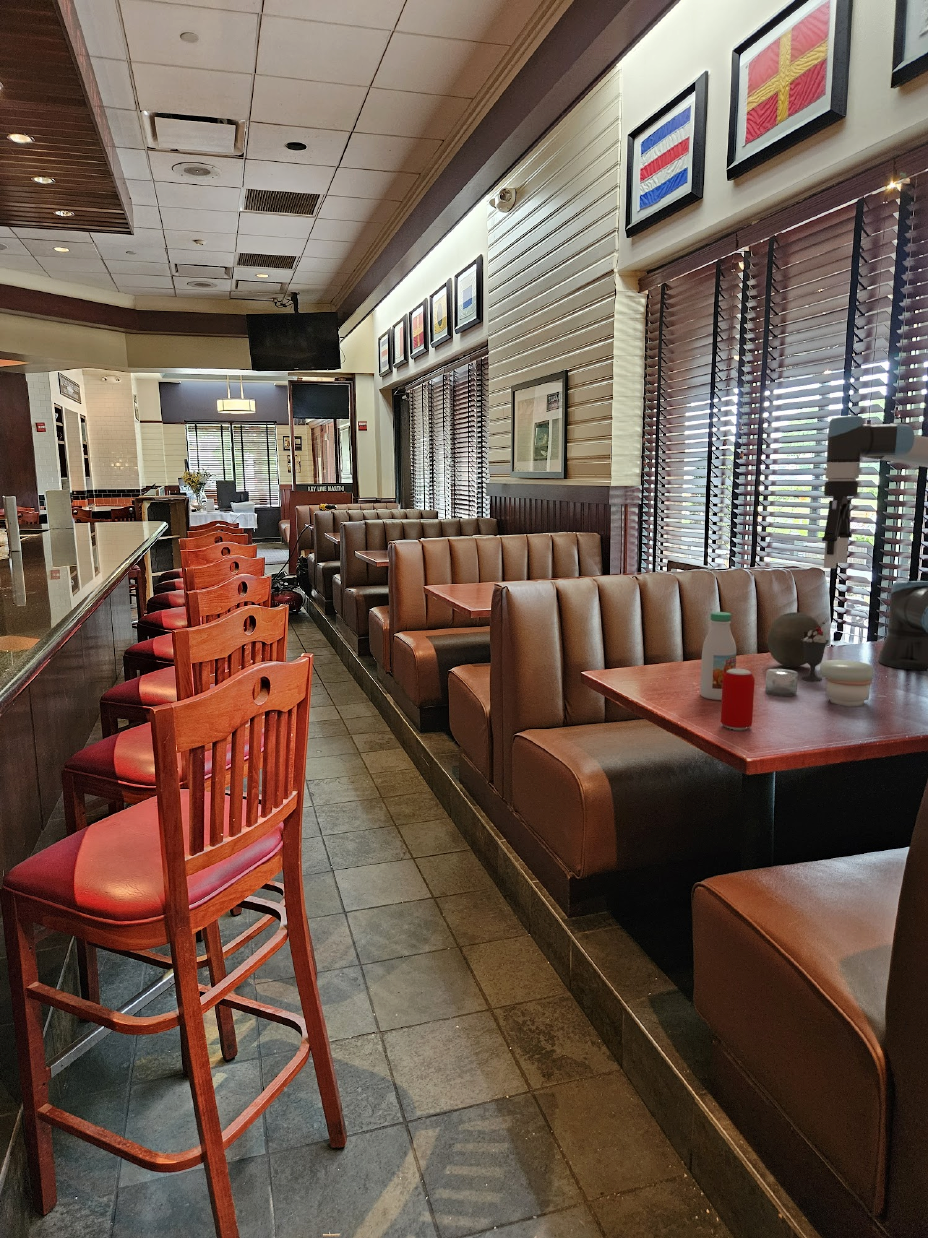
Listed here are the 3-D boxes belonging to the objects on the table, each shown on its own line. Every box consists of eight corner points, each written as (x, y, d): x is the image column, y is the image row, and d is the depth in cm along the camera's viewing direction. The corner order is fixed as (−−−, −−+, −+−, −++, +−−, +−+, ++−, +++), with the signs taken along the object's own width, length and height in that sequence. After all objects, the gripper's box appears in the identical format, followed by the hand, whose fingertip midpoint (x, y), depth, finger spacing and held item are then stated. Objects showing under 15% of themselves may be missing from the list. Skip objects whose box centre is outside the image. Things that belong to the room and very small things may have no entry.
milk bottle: (698, 699, 187) (702, 614, 184) (701, 691, 195) (705, 609, 191) (733, 702, 185) (737, 616, 181) (735, 694, 192) (739, 611, 188)
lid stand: (784, 687, 197) (785, 668, 196) (802, 695, 190) (804, 674, 189) (759, 689, 195) (760, 669, 194) (777, 697, 188) (778, 676, 188)
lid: (847, 668, 191) (848, 658, 190) (883, 679, 181) (884, 668, 180) (809, 672, 188) (809, 661, 187) (843, 683, 177) (844, 672, 177)
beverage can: (756, 731, 164) (760, 674, 162) (727, 732, 163) (730, 675, 161) (744, 722, 170) (747, 667, 168) (715, 723, 169) (718, 668, 167)
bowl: (833, 694, 191) (835, 669, 190) (876, 702, 184) (878, 676, 183) (816, 702, 184) (818, 677, 183) (860, 710, 178) (863, 684, 176)
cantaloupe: (754, 663, 222) (757, 610, 220) (799, 660, 225) (802, 607, 223) (785, 675, 209) (789, 618, 206) (832, 672, 212) (836, 616, 209)
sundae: (829, 683, 201) (833, 624, 198) (800, 681, 202) (804, 623, 200) (823, 676, 207) (827, 619, 205) (795, 675, 209) (799, 618, 206)
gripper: (835, 479, 212) (829, 560, 215) (814, 480, 191) (808, 569, 195) (866, 479, 207) (860, 561, 211) (848, 480, 187) (841, 571, 191)
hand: (835, 565), depth 203 cm, fingers open, 13 cm apart
